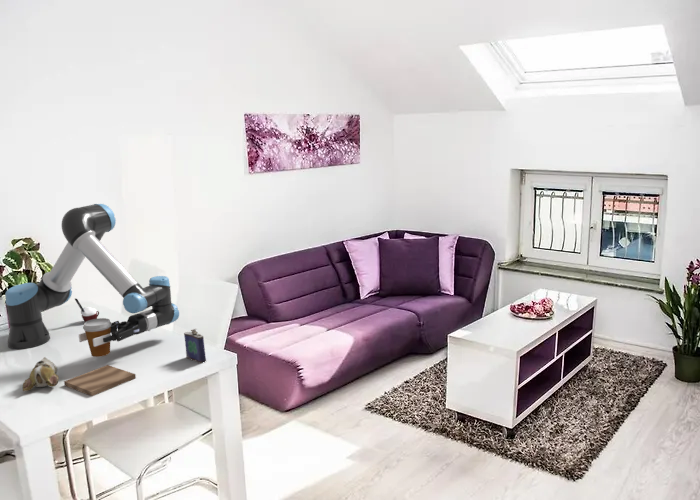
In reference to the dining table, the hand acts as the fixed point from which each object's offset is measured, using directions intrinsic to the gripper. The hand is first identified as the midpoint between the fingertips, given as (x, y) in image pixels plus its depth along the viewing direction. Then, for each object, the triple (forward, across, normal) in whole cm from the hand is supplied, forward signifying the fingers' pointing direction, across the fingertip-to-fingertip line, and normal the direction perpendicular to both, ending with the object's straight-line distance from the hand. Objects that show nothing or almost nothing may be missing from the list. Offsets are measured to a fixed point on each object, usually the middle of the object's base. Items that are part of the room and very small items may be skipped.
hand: (86, 340), depth 211 cm
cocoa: (-31, +51, -11) cm, 61 cm away
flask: (-25, -28, -10) cm, 39 cm away
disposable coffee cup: (-5, 0, -7) cm, 8 cm away
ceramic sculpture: (+17, 0, -11) cm, 20 cm away
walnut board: (+5, -15, -10) cm, 19 cm away
